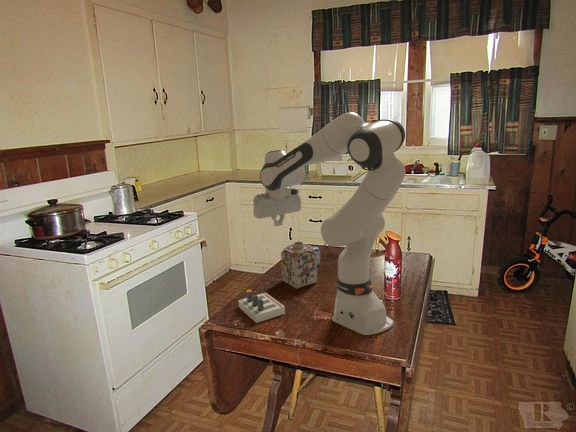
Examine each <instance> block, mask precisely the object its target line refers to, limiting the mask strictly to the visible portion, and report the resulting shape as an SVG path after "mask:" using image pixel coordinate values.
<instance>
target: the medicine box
mask: <svg viewBox="0 0 576 432" xmlns="http://www.w3.org/2000/svg"><path fill="white" fill-rule="evenodd" d="M312 248H313V249H314V251H315V253H316V257H317V267H318V266H321V249H320V247H318V246H312Z"/></svg>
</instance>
